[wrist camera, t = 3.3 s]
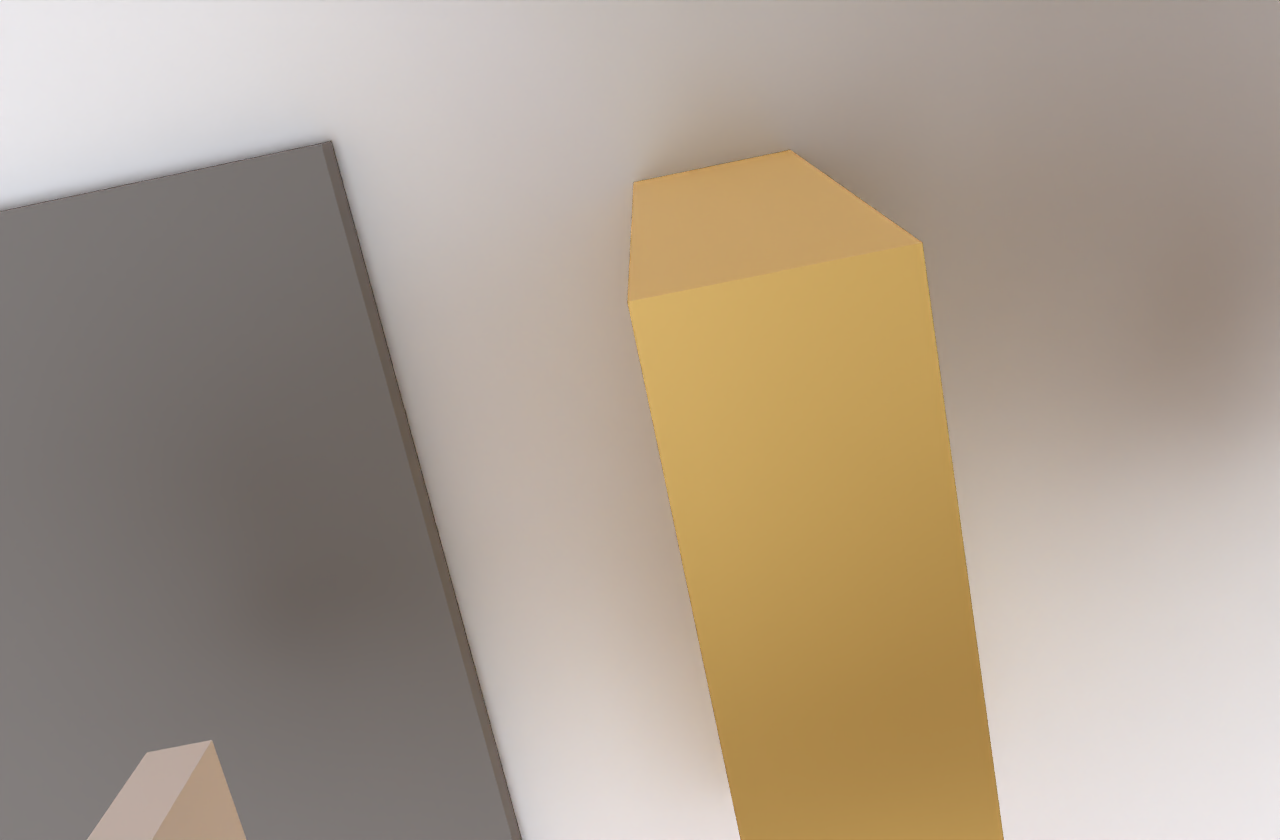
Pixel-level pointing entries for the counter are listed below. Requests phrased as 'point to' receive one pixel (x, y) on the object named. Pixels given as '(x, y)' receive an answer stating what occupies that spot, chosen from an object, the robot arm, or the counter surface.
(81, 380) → the mat
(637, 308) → the slab
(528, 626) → the counter surface
